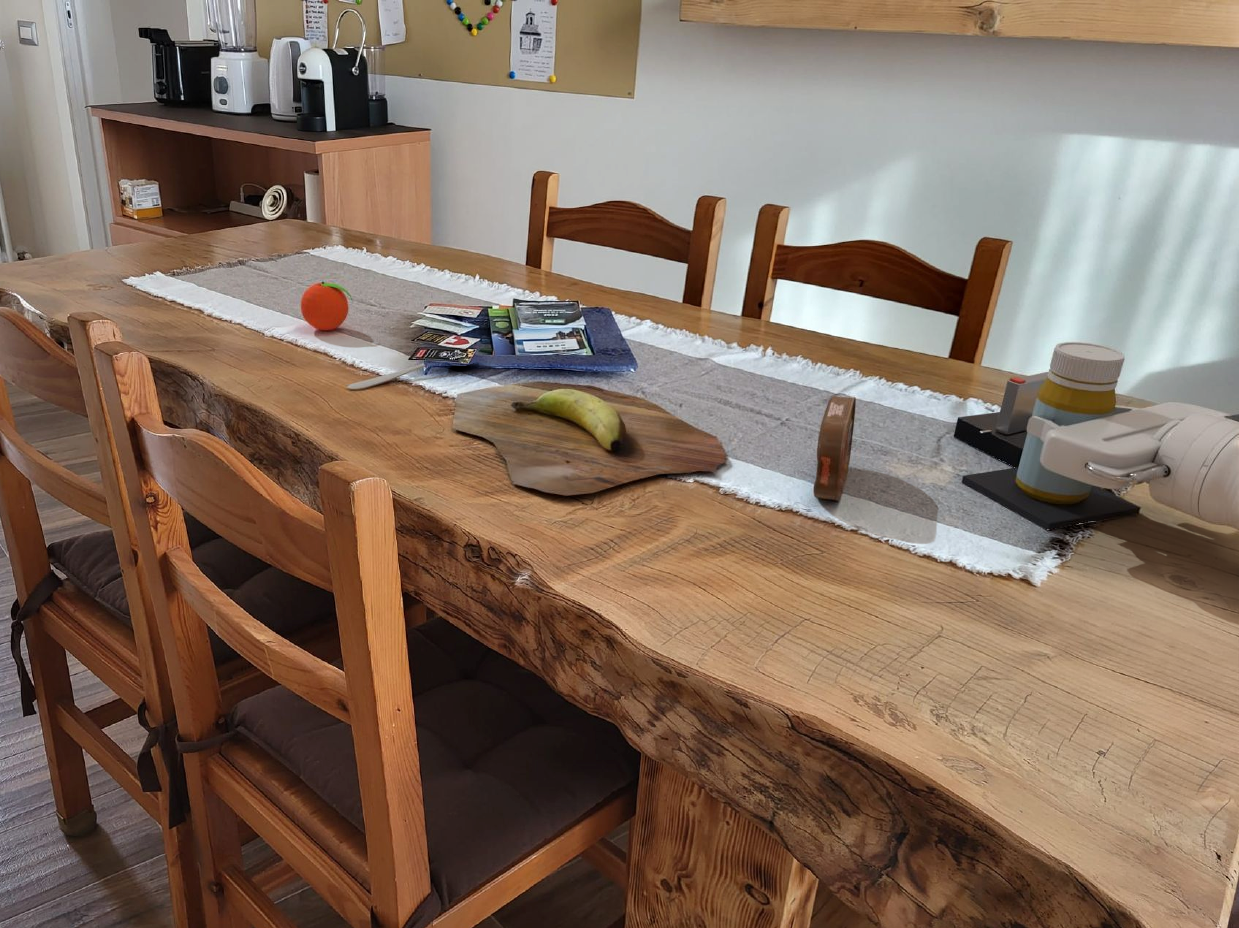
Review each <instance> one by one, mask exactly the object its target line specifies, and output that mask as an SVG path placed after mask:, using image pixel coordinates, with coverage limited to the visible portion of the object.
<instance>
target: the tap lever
mask: <svg viewBox="0 0 1239 928" xmlns="http://www.w3.org/2000/svg"><path fill="white" fill-rule="evenodd" d="M1048 372H1049V371H1045V372H1039V373H1036V374H1031V375H1025V376H1021V377H1017V376H1013V377H1009V379H1008V380H1007V381H1006V386H1005V389H1004V393H1003V397H1002V401H1001V405H1000V410H999V412H1000V413H999V417H998V421H997V425H996V429H995V430H996V431H998V432H1000V433H1003V434H1006V435H1009V434H1013V433H1017V432H1021V431H1025V430H1027V425H1028V421H1029V419H1030V418H1031V417H1032V414H1033V410H1034V406H1035V402H1036V399H1037V395H1038V392H1039V389H1040V388H1041V386H1042V385H1043V383H1044V382H1045V381H1046V379H1047V378H1048Z"/></svg>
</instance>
